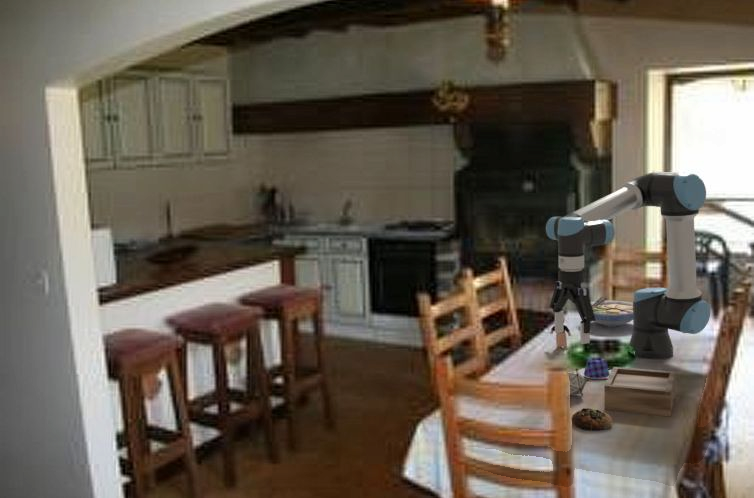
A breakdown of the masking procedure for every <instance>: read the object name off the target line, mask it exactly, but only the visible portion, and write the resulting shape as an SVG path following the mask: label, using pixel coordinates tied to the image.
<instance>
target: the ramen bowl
mask: <svg viewBox="0 0 754 498" xmlns="http://www.w3.org/2000/svg"><path fill="white" fill-rule="evenodd" d="M590 302H591V305H592V309H593V312H594V316H595V321H593V322H594V323H597V324H600V325H602V326H603V325H604V326H603V327H607V326H618V327H620V326H623V325H625V324H628V323H630V322H633V302H630V301H629V302H628V301H621V300H607V296H606V297H604V298H603V297H602V296H601V297H599V298H598V299H597V300H596V301H590ZM619 325H620V326H619Z"/></svg>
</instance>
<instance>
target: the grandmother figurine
mask: <svg viewBox="0 0 754 498" xmlns="http://www.w3.org/2000/svg"><path fill="white" fill-rule="evenodd" d="M563 318H564V322H565V320H566V317H565V315H563ZM553 333H555V325H553V326H552V327H551V330H550V335H551V334H552V335H553ZM567 335H568V337H571V336H572V333H571V331H570V329H569V327H568V326H567V325H566V324H564V332H561V333H555V342H556V347H555V349H556V350H561V349H562V350H564V351H565V350H569V349H568V348H569V346H568V343H567Z"/></svg>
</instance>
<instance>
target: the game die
mask: <svg viewBox="0 0 754 498" xmlns="http://www.w3.org/2000/svg"><path fill="white" fill-rule="evenodd" d="M578 371H579V370H578V368H575V370H571V371H567V372H568V374H569V380H570V396H575V395H581V396H584V394H583V391H584V388H585V385H586V383H587V382H589V381H590V379H586V378H585V377H583V376H582V375H581V374H580V373H579V372H578Z"/></svg>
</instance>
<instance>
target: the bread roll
mask: <svg viewBox="0 0 754 498" xmlns="http://www.w3.org/2000/svg"><path fill="white" fill-rule="evenodd" d="M571 422H572V425H573V426H574V427H576V428H578V429H581V430H583V431H602V430H607V429H610V428H611V427H612V426H613V420H612V418H611V416H610V415H609V414H607V413H606V412H605V411H603V412H602V411H601V410H599V409H592V408H589V407H588V408H587V407H586V408H585V407H583V408H582V409H580V410H578V411H576V412H575V413H574V414H572V416H571Z"/></svg>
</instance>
